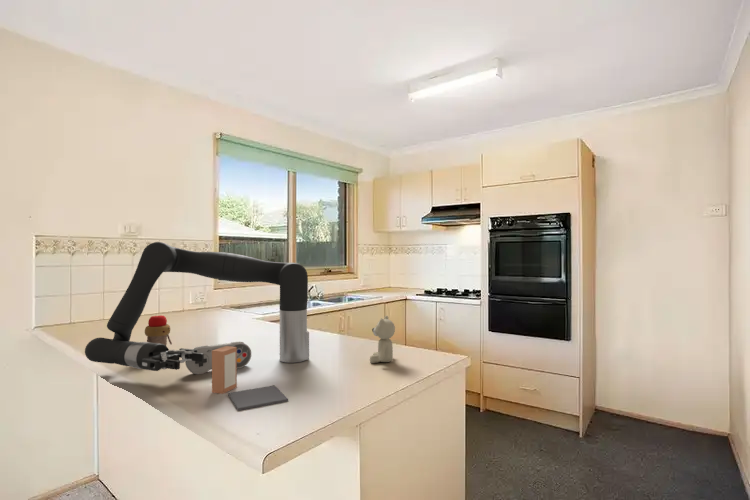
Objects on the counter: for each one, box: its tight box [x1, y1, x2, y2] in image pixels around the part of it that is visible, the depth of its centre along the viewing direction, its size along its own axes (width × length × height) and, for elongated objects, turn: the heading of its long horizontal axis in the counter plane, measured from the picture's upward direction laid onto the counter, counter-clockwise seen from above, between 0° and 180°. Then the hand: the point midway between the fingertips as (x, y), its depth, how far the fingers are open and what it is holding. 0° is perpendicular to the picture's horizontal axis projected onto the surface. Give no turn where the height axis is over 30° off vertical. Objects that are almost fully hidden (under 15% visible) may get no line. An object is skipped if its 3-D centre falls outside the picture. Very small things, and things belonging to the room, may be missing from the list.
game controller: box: [184, 341, 252, 375], centre depth 127 cm, size 20×2×8 cm, turn 123°
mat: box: [227, 384, 289, 412], centre depth 102 cm, size 12×12×1 cm
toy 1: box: [144, 315, 173, 346], centre depth 141 cm, size 9×9×15 cm
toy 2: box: [369, 315, 396, 364], centre depth 136 cm, size 13×8×15 cm, turn 164°
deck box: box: [211, 346, 238, 395], centre depth 109 cm, size 4×6×11 cm
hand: (191, 361), depth 111 cm, fingers open, 8 cm apart
